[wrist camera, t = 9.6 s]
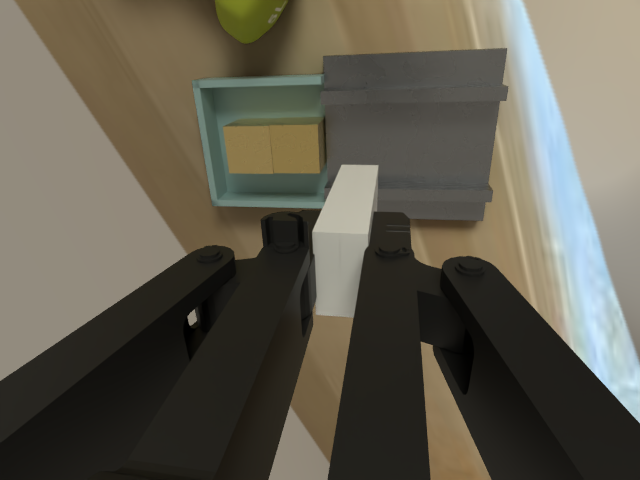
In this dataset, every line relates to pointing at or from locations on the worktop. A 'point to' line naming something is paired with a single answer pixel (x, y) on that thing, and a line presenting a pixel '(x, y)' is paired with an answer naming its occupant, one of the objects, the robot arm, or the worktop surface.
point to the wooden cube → (298, 144)
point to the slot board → (417, 126)
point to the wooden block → (249, 146)
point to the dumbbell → (248, 17)
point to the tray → (247, 103)
